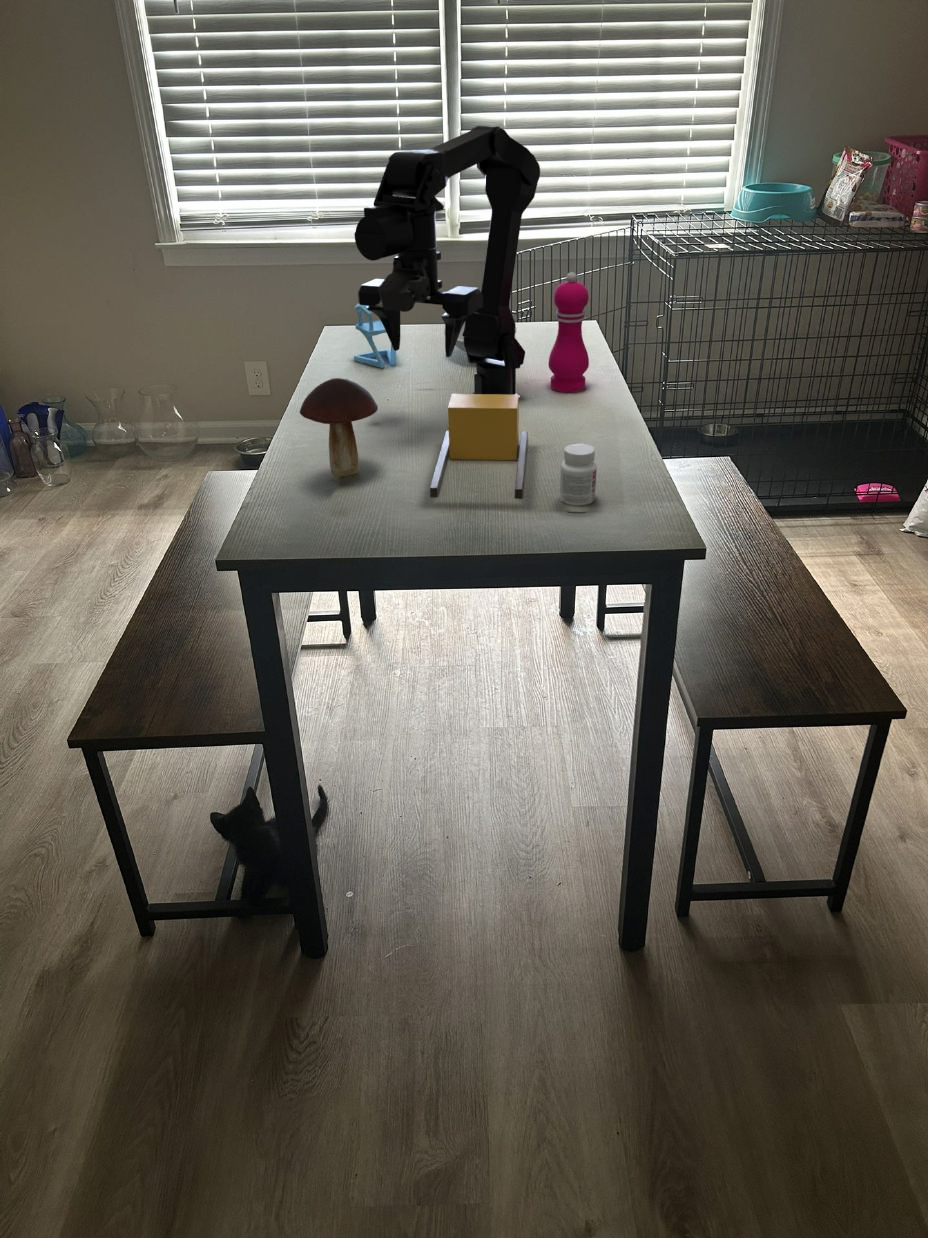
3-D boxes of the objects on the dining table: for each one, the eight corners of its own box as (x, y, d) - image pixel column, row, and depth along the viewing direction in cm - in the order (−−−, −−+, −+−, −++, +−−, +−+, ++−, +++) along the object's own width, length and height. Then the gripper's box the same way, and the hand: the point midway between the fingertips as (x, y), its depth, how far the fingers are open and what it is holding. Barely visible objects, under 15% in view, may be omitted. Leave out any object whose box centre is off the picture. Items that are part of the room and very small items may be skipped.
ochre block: (453, 444, 146) (452, 393, 142) (518, 445, 145) (518, 394, 141) (449, 459, 141) (447, 407, 137) (516, 460, 140) (517, 408, 136)
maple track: (442, 446, 149) (442, 430, 147) (531, 447, 148) (532, 431, 146) (425, 505, 131) (424, 487, 129) (527, 507, 129) (527, 489, 128)
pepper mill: (561, 395, 168) (565, 278, 157) (540, 384, 173) (542, 270, 163) (595, 389, 170) (601, 273, 160) (573, 378, 176) (578, 265, 165)
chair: (371, 370, 183) (366, 307, 176) (353, 359, 189) (348, 298, 182) (406, 363, 186) (403, 301, 179) (388, 353, 192) (384, 292, 186)
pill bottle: (599, 512, 128) (602, 453, 123) (565, 516, 127) (567, 457, 122) (588, 497, 132) (590, 440, 127) (555, 501, 131) (556, 444, 126)
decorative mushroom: (394, 484, 137) (387, 383, 129) (322, 500, 133) (310, 396, 125) (366, 459, 145) (358, 362, 137) (297, 473, 141) (285, 374, 133)
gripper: (333, 254, 136) (343, 361, 145) (448, 263, 129) (452, 375, 138) (373, 239, 145) (380, 341, 153) (483, 247, 137) (485, 354, 146)
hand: (422, 353), depth 147 cm, fingers open, 9 cm apart
